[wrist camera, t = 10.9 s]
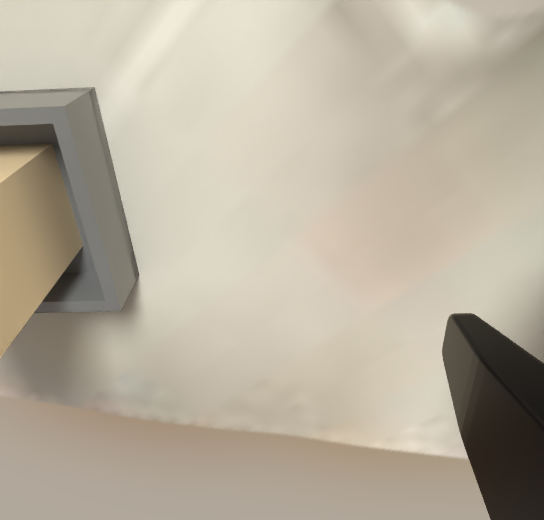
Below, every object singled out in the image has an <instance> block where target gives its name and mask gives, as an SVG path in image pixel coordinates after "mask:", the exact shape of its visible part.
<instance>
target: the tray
mask: <svg viewBox="0 0 544 520" xmlns="http://www.w3.org/2000/svg"><path fill="white" fill-rule="evenodd" d="M29 144H53V147H54V150H55V154H56V157H57V160H58V164H59V167H60V170H61V174H62V177H63V180H64V184H65V187H66V190H67V194H68V197H69V200H70V204H71V207H72V210H73V214H74V217H75V220H76V224H77V227H78V230H79V234H80V237H81V240H82V243H83V247H82V248H81V249H80V251H79V252H78V253H77V255H76V256H75V257H74V259H73V260H72V261H71V263H70V264H69V266H68V267H67V268H66V270H65V271H64V272H63V274H62V275H61V276H60V278H59V279H58V281H57V282H56V283H55V285H54V286H53V287H52V289H51V290H50V291H49V293H48V294H47V295H46V297H45V298H44V300H43V301H42V302H41V304H40V305H39V306H38V308H37V309H36V310H35V312H34V313H50V312H102V311H122V308H123V306H124V304H125V302H126V300H127V298H128V296H129V294H130V292H131V290H132V288H133V286H134V284H135V282H136V280H137V278H138V276H139V272H138V268H137V264H136V260H135V256H134V251H133V247H132V243H131V239H130V235H129V231H128V226H127V222H126V218H125V214H124V210H123V206H122V201H121V197H120V193H119V189H118V185H117V180H116V176H115V172H114V168H113V164H112V160H111V155H110V151H109V147H108V143H107V139H106V134H105V130H104V126H103V122H102V118H101V114H100V109H99V105H98V101H97V97H96V93H95V89H94V87H91V88H69V89H47V90H25V91H3V92H0V146H3V145H29Z"/></svg>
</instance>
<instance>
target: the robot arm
mask: <svg viewBox="0 0 544 520" xmlns="http://www.w3.org/2000/svg"><path fill="white" fill-rule="evenodd" d="M442 355H443V362H444V366H445V370H446V375H447V379H448V383H449V388H450V392H451V396H452V401H453V405H454V409H455V414H456V418H457V422H458V426H459V430H460V434H461V437H462V440H463V443H464V446H465V449H466V452H467V455H468V458H469V460H470V463H471V466H472V469H473V472H474V474H475V477H476V480H477V483H478V485H479V488H480V491H481V494H482V497H483V499H484V502H485V505H486V508H487V511H488V513H489V516H490V519H491V520H544V363H542V362H541V361H540V360H538V359H537V358H535V357H534V356H533V355H531V354H530V353H528V352H527V351H526V350H524V349H523V348H521V347H520V346H519V345H517V344H516V343H514V342H513V341H512V340H510V339H509V338H507V337H506V336H504V335H503V334H502V333H500V332H499V331H497V330H496V329H495V328H493V327H492V326H490V325H489V324H488V323H486V322H485V321H483V320H482V319H481V318H479V317H478V316H476V315H475V314H472V313H458V314H452V315H450V316H449V318H448V321H447V326H446V331H445V337H444V342H443V348H442Z"/></svg>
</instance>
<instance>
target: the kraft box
mask: <svg viewBox="0 0 544 520" xmlns="http://www.w3.org/2000/svg"><path fill="white" fill-rule="evenodd" d="M82 247H83V243H82V240H81V237H80V234H79V230H78V227H77V224H76V220H75V217H74V214H73V210H72V207H71V204H70V200H69V197H68V194H67V190H66V187H65V184H64V180H63V177H62V174H61V170H60V167H59V164H58V160H57V157H56V154H55V150H54V147H53V144H29V145H3V146H0V358H1V357H2V355H3V354H4V353H5V351H6V350H7V348H8V347H9V346H10V344H11V343H12V342H13V340H14V339H15V338H16V336H17V335H18V333H19V332H20V331H21V329H22V328H23V327H24V325H25V324H26V323H27V321H28V320H29V319H30V317H31V316H32V314H33V313H34V312H35V310H36V309H37V308H38V306H39V305H40V304H41V302H42V301H43V300H44V298H45V297H46V295H47V294H48V293H49V291H50V290H51V289H52V287H53V286H54V285H55V283H56V282H57V281H58V279H59V278H60V276H61V275H62V274H63V272H64V271H65V270H66V268H67V267H68V266H69V264H70V263H71V261H72V260H73V259H74V257H75V256H76V255H77V253H78V252H79V251H80V249H81V248H82Z"/></svg>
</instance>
